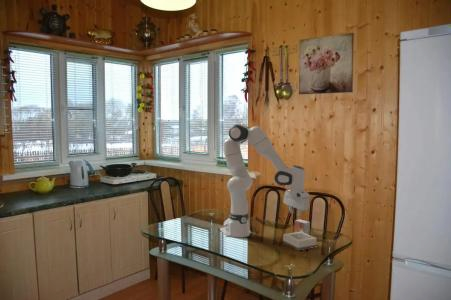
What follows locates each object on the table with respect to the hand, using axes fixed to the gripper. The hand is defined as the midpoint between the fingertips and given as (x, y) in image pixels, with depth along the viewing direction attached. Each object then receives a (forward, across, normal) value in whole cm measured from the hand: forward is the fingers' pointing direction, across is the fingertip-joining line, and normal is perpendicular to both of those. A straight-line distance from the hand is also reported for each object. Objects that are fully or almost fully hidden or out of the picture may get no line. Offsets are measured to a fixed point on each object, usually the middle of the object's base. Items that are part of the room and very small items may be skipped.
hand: (294, 214), depth 211 cm
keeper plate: (+17, +7, 0) cm, 19 cm away
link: (+16, +6, 0) cm, 17 cm away
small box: (+18, -6, +12) cm, 23 cm away
